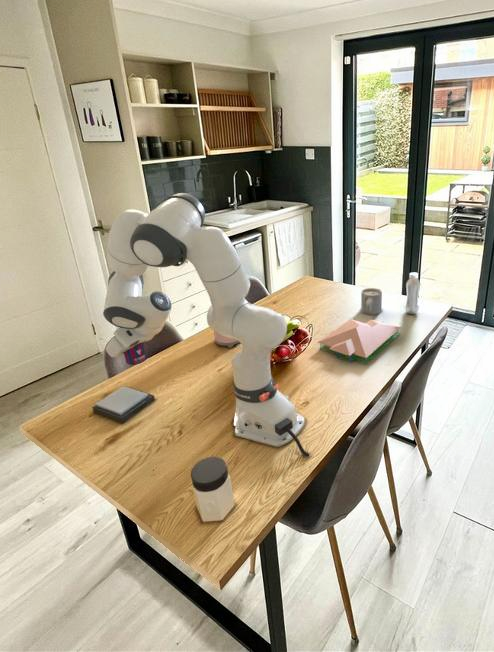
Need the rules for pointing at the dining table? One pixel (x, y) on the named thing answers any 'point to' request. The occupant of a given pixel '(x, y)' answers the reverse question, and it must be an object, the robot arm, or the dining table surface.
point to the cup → (135, 354)
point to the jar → (212, 489)
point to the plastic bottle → (412, 294)
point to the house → (359, 338)
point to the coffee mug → (371, 301)
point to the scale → (123, 404)
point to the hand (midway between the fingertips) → (129, 347)
